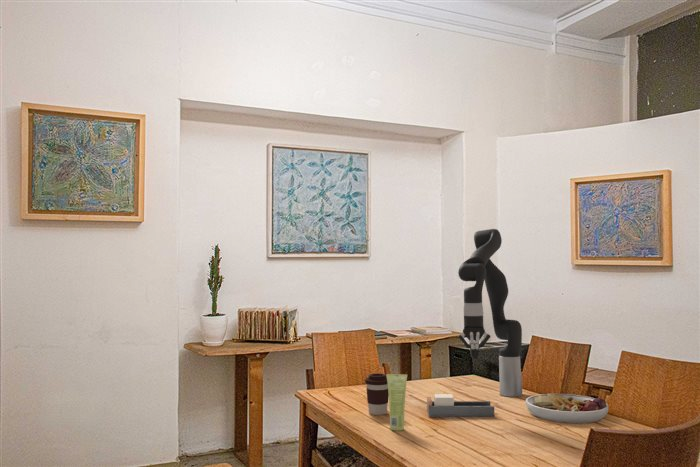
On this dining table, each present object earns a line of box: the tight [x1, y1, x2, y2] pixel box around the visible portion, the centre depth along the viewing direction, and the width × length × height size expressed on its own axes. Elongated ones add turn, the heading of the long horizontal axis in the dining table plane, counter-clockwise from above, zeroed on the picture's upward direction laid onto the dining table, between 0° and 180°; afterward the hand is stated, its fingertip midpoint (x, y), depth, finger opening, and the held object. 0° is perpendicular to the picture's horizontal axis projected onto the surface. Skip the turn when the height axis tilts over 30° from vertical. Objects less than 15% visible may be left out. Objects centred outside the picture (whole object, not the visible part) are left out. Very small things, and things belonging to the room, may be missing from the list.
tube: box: [385, 373, 408, 432], centre depth 214 cm, size 6×5×20 cm
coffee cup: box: [364, 372, 389, 416], centre depth 237 cm, size 10×10×15 cm
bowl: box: [525, 392, 609, 424], centre depth 231 cm, size 30×30×8 cm
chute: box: [426, 396, 496, 418], centre depth 233 cm, size 25×9×6 cm, turn 87°
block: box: [433, 393, 455, 406], centre depth 234 cm, size 7×6×6 cm
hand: (474, 358), depth 234 cm, fingers closed
